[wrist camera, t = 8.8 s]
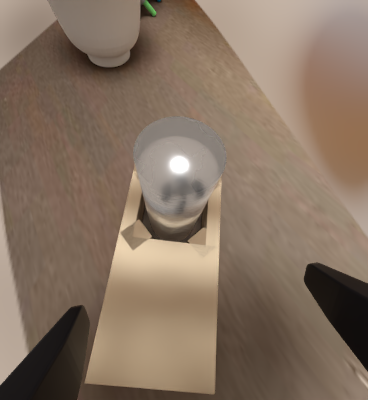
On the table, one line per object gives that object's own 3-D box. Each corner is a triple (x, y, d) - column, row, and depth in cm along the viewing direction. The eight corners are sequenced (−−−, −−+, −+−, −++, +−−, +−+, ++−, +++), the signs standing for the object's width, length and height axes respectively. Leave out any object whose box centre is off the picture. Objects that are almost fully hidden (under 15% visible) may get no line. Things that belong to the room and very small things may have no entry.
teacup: (150, 19, 32) (144, -88, 23) (154, 84, 26) (149, -22, 17) (70, 15, 30) (29, -101, 21) (58, 84, 25) (-6, -32, 16)
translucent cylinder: (200, 234, 19) (240, 181, 9) (156, 247, 18) (145, 205, 8) (187, 194, 21) (208, 110, 11) (145, 204, 20) (124, 124, 10)
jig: (205, 373, 15) (214, 394, 12) (99, 364, 15) (84, 383, 12) (214, 186, 21) (221, 172, 19) (139, 176, 21) (135, 160, 18)
